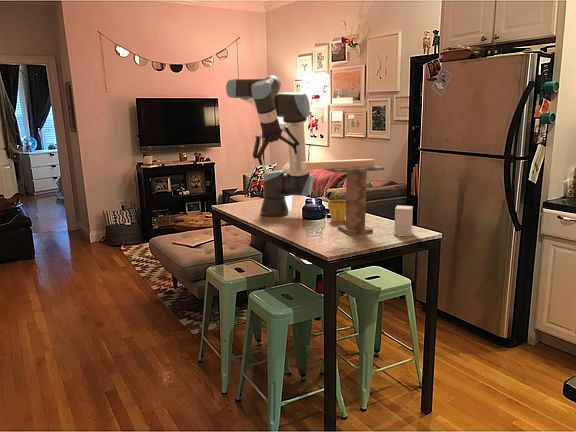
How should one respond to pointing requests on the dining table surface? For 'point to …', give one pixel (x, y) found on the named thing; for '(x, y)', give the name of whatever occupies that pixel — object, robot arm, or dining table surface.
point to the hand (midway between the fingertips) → (280, 166)
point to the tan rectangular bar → (337, 164)
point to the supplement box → (403, 220)
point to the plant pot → (337, 210)
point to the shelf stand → (355, 199)
